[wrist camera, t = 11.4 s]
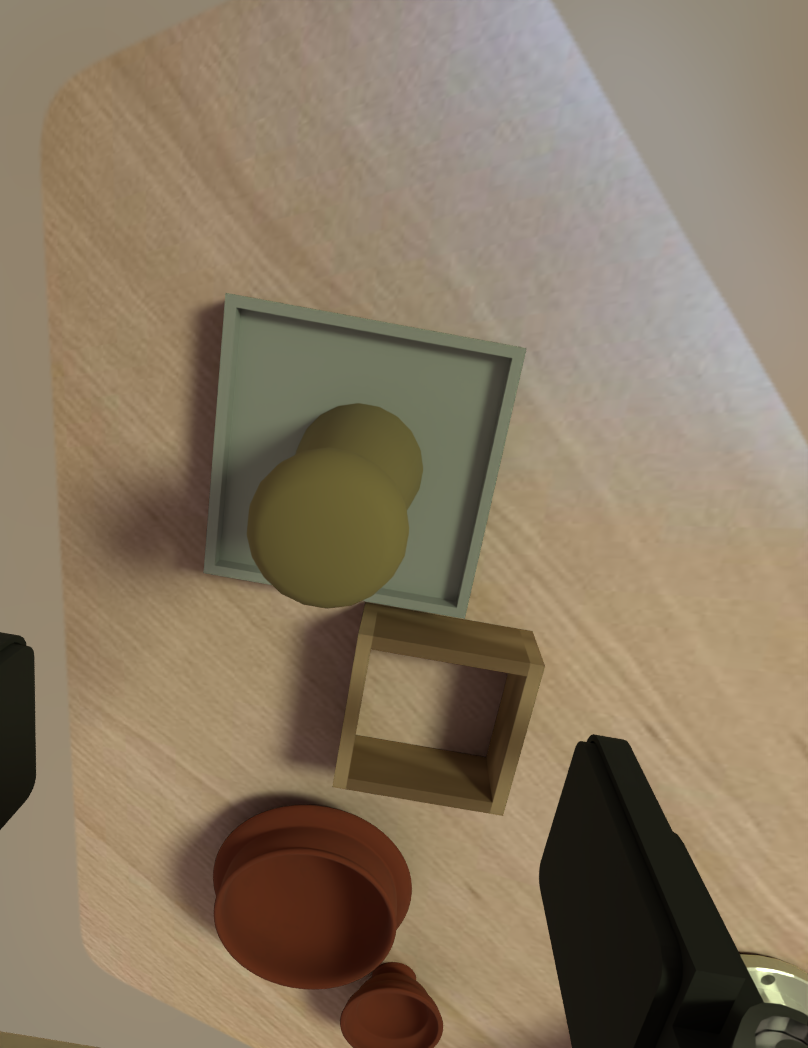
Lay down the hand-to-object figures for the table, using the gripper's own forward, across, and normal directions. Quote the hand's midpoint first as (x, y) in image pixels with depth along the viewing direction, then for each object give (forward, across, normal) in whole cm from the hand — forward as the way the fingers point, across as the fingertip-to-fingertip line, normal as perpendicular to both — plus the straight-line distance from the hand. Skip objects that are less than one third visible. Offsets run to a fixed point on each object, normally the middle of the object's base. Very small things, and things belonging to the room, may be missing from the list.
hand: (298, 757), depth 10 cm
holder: (+21, -4, +11) cm, 24 cm away
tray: (+20, +1, -1) cm, 20 cm away
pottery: (+21, -2, +28) cm, 35 cm away
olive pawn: (+19, +1, -1) cm, 19 cm away
